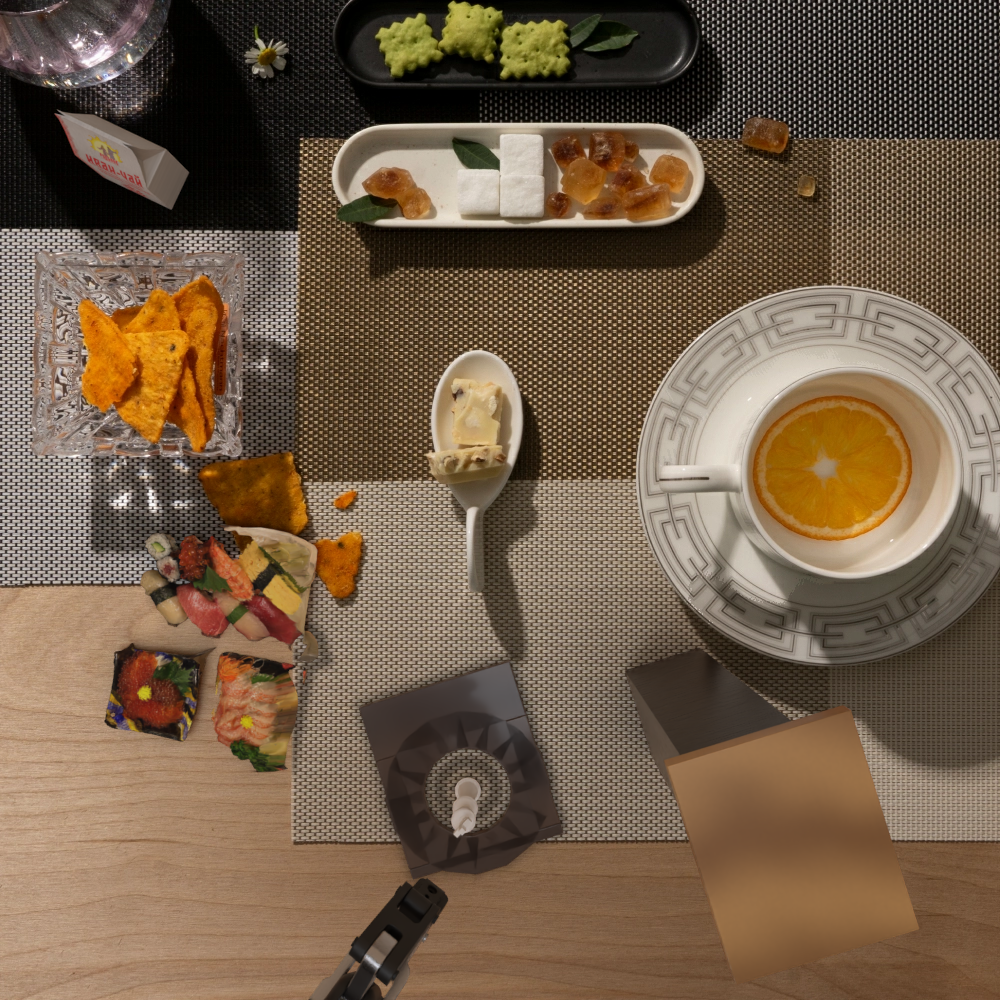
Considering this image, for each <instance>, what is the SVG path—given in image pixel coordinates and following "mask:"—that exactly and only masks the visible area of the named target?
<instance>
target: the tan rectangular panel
mask: <svg viewBox="0 0 1000 1000" xmlns="http://www.w3.org/2000/svg"><path fill="white" fill-rule="evenodd" d="M664 763H665V766H666V769H667V773H668V776H669V779H670V782H671V785H672V789H673V792H674V795H675V798H676V800H675V802H676V801H677V802H676V804H677V808H678V811H679V813H680V817H681V820H682V823H683V827H684V830H685V833H686V837H687V840H688V844H689V846H690V849H691V852H692V855H693V859H694V861H695V865H696V868H697V871H698V874H699V878H700V881H701V884H702V887H703V890H704V891H703V892H704V894H705V897H706V900H707V904H708V907H709V909H710V913H711V916H712V919H713V923H714V926H715V928H716V929H715V930H716V932H717V936H718V938H719V942H720V944H721V948H722V951H723V954H724V957H725V960H726V964H727V967H728V970H729V973H730V976H731V978H732V981H733V982H734V984H735V985H736V986H738V985H741V984H744V983H747V982H751V981H755V980H758V979H761V978H764V977H767V976H771V975H774V974H778V973H780V972H784V971H788V970H790V969H793V968H798V967H800V966H804V965H807V964H810V963H814V962H817V961H819V960H820V961H821V960H823V959H827V958H830V957H833V956H837V955H840V954H843V953H846V952H850V951H853V950H857V949H860V948H863V947H867V946H869V945H870V946H871V945H872V944H876V943H879V942H882V941H885V940H889V939H892V938H895V937H898V936H903V935H906V934H909V933H912V932H915V931H919V930H920V926H919V923H918V920H917V917H916V914H915V910H914V907H913V904H912V901H911V897H910V894H909V891H908V888H907V885H906V882H905V878H904V875H903V872H902V869H901V865H900V862H899V859H898V855H897V852H896V850H895V846H894V843H893V840H892V837H891V833H890V830H889V828H888V824H887V821H886V818H885V814H884V811H883V808H882V805H881V801H880V799H879V795H878V792H877V788H876V785H875V782H874V779H873V776H872V772H871V770H870V766H869V763H868V760H867V757H866V754H865V750H864V747H863V744H862V741H861V738H860V734H859V731H858V728H857V725H856V722H855V719H854V716H853V712H852V709H850V708H848V707H846V705H844V704H842V705H839V706H835V707H831V708H829V709H825V710H822V711H819V712H816V713H812V714H810V715H809V714H808V715H806V716H802V717H799V718H796V719H793V720H791V721H790V722H786V723H783V724H780V725H777V726H773V727H770V728H767V729H764V730H760V731H757V732H754V733H751V734H747V735H744V736H741V737H738V738H734V739H731V740H728V741H725V742H721V743H718V744H715V745H712V746H708V747H705V748H702V749H699V750H695V751H692V752H689V753H686V754H682V755H679V756H676V757H673V758H669V759H666V760H664ZM675 798H674V799H675Z"/></svg>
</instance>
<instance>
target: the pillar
mask: <svg viewBox="0 0 1000 1000" xmlns="http://www.w3.org/2000/svg"><path fill="white" fill-rule="evenodd" d="M624 673H625V676H626V679H627V682H628V686H629V689H630V692H631V695H632V699H633V702H634V706H635V708H636V713H637V715H638V717H639V721H640V724H641V728H642V731H643V734H644V738H645V740H646V743H647V746H648V749H649V753H650V756H651V758H652V760H653V762H654V763H655V765H656V767H657V769H658V771H659V773H660V775H661V776H662V778H663V780H664V782H665V784H666V785H667V788H668V789H669V791H670V793H671V794H672V797H673V798H674V800H675V802H676V803H677V801H676V798H675V795H674V792H673V789H672V785H671V782H670V779H669V776H668V773H667V769H666V766H665V763H664V760H666V759H669V758H673V757H676V756H679V755H682V754H686V753H689V752H692V751H695V750H699V749H702V748H705V747H708V746H712V745H715V744H718V743H721V742H725V741H728V740H731V739H734V738H738V737H741V736H744V735H747V734H751V733H754V732H757V731H760V730H764V729H767V728H770V727H773V726H777V725H780V724H783V723H786V722H790V721H792V720H791V719H790V718H789V717H788V716H787V715H785V714H784V713H783V712H781V711H780V710H779V709H778V708H776V706H774V705H772V703H770V702H769V701H768V700H766V699H765V698H764V697H763V696H761V695H760V694H759V693H758V692H756V691H755V690H754V689H753V688H752V687H750V686H749V685H747V684H746V683H745V682H744V681H743V680H741V679H740V678H739V677H737V676H736V674H734V673H733V672H732V671H730V670H729V669H727V668H726V667H725V666H723V665H722V664H721V663H720V662H718V660H716V659H715V658H714V657H713V656H711V655H710V654H709V653H707V652H706V651H705V650H703V648H701V647H696V648H693V649H690V650H686V651H683V652H680V653H676V654H674V655H671V656H667V657H664V658H661V659H659V660H655V661H651V662H647V663H645V664H642V665H638V666H635V667H632V668H629V669H626V670H624Z"/></svg>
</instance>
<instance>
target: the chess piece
mask: <svg viewBox="0 0 1000 1000" xmlns="http://www.w3.org/2000/svg"><path fill="white" fill-rule="evenodd" d="M481 794H482V788H481V785H480V783H479V782H478V780H476V779H475V778H473V777H470V776H467V777H463V778H461V779H460V780H459V781H458V782H457V783H456V785H455V786H454V796H455V797H456V799H455V800H454V802H453V804H452V815H451V818H450V823H451V826H452V829H453V830H455V831H454V833H453V834H454V835H455V836H456V837H457V838H458V837H459V836H460V834H461V835H463V834H464V833H467V832H471V831H472V830H474V828H475V826H476V824H477V818H476V817H477V814H478V812H479V805H478V803H477V801H478V800H479V799H480V797H481Z"/></svg>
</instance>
